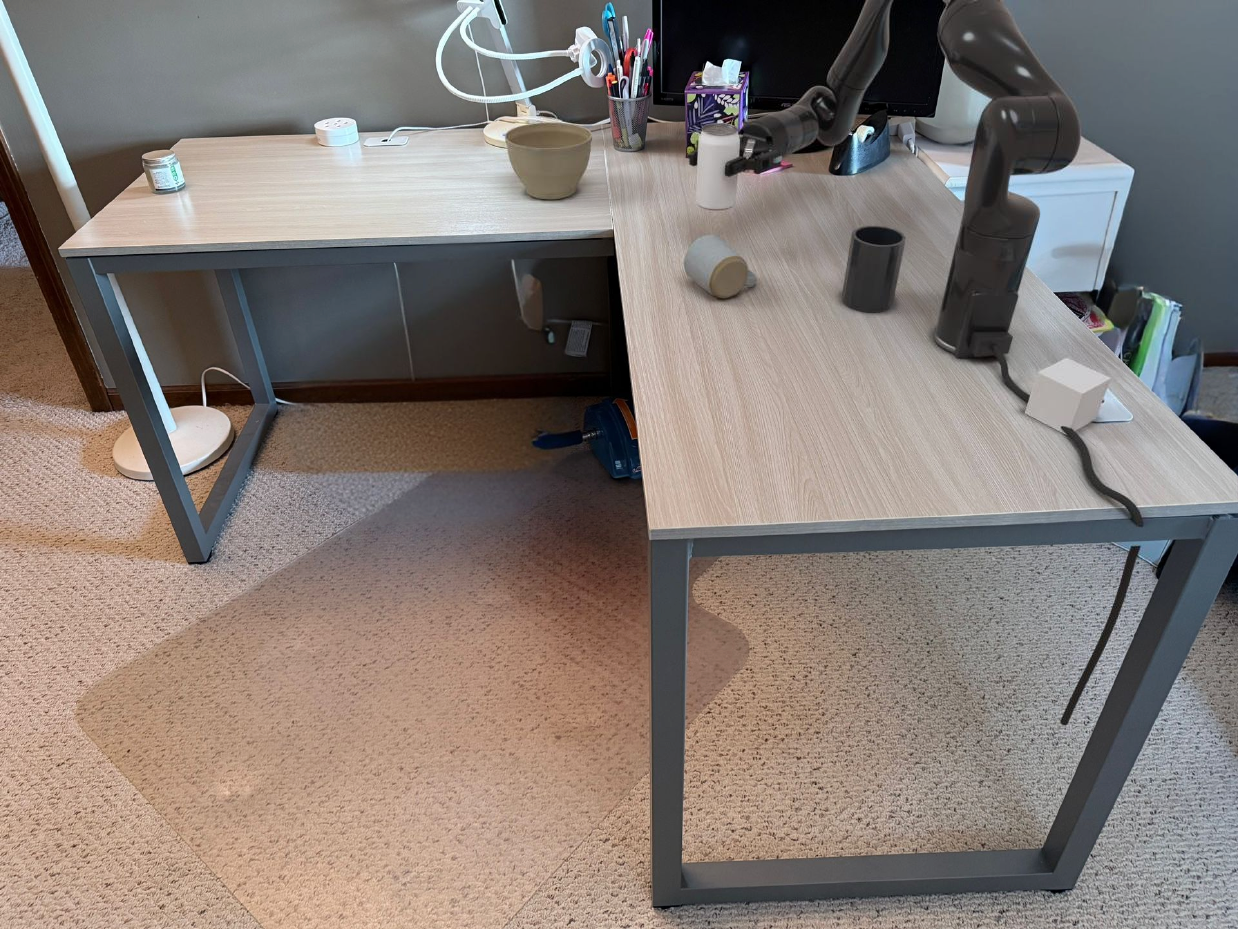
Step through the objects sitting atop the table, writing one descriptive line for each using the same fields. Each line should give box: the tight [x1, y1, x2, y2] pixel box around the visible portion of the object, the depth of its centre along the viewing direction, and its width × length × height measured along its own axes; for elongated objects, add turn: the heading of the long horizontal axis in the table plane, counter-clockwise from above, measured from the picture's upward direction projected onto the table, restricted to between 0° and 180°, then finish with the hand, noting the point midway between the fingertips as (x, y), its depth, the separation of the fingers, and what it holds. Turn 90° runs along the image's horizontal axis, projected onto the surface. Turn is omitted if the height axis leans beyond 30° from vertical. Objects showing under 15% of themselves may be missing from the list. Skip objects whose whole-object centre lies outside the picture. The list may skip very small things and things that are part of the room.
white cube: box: [1024, 357, 1112, 436], centre depth 112 cm, size 6×6×6 cm
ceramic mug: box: [683, 234, 758, 299], centre depth 140 cm, size 11×8×8 cm
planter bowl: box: [504, 121, 593, 200], centre depth 172 cm, size 16×16×11 cm
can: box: [695, 122, 740, 212], centre depth 144 cm, size 6×6×12 cm
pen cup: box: [841, 225, 907, 314], centre depth 135 cm, size 8×8×10 cm
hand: (709, 164), depth 142 cm, fingers closed on can, 6 cm apart
